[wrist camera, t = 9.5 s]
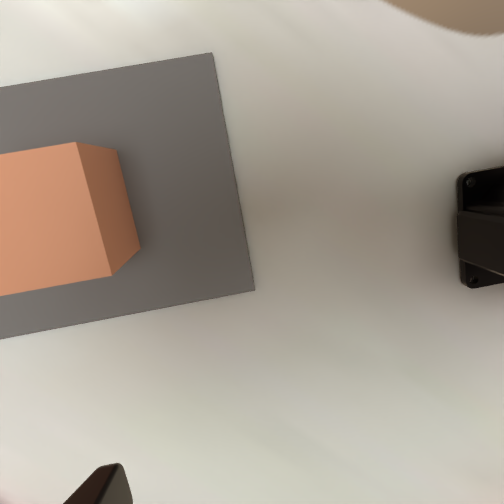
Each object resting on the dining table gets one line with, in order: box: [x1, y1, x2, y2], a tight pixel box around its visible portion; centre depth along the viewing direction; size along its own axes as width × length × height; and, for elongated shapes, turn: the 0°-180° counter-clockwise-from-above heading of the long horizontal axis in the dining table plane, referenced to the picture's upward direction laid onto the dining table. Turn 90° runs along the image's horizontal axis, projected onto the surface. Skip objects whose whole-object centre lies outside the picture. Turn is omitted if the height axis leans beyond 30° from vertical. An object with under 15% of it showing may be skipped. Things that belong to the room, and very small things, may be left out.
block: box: [0, 142, 141, 296], centre depth 16 cm, size 5×5×5 cm
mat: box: [0, 52, 255, 339], centre depth 18 cm, size 16×12×1 cm
